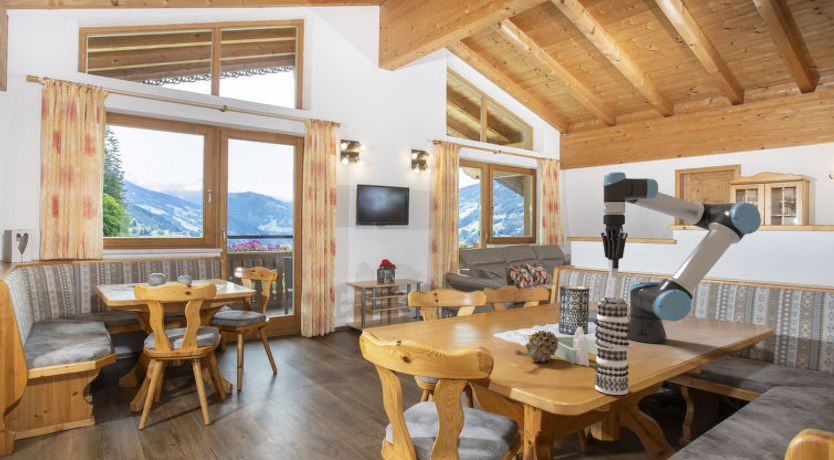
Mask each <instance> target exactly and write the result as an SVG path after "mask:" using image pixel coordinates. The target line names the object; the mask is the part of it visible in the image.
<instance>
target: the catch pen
mask: <svg viewBox="0 0 834 460" xmlns="http://www.w3.org/2000/svg"><path fill="white" fill-rule="evenodd" d="M556 338H557V339H559V341H557V342H558V343H559V344H558V345H557V346H558V347H559V348H558V349H557V350H555V351H556V353H555V355H554V356H556V357H558V358H560V359H562V360H564V361H566V362H568V363H570V364H572V365H573V364H576V362H575V357H576V350H575V349H573V339H574V335H563V336H562V335H560V336H556ZM586 340H587V344H588V349H589V353H591V354H593V355H594V356H597V347H596V343H595V342H596V339H592V338H589V337H587V336H586Z"/></svg>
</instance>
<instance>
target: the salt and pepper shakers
mask: <svg viewBox="0 0 834 460" xmlns="http://www.w3.org/2000/svg"><path fill="white" fill-rule="evenodd" d="M573 336H574V339H573V349H575V350H576V357H575V364H577V365H580V366H586V367H589V366H590V361H589V353H590V352H589V349H588V344H587V340H586V337H587V336H586V335H585V331H584V328H583V327H582V326H578V327H576V329H575V331H574V335H573Z"/></svg>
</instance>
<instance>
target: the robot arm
mask: <svg viewBox="0 0 834 460" xmlns="http://www.w3.org/2000/svg"><path fill="white" fill-rule="evenodd" d="M602 187H603V214H604V215H603V219H602V220H603V221H602V223H603V225H605V229H604V230H605V231H604V232H601V233H600V235H601V239H602V244H603V245H602V246H603V251H604V257H605V258H606V259H607V260H608V269H609V270H608V272H609V273H608V278H611V279H612V278H614V279H615V278H617V279H618V278H619V268H620V267H619V263H620V262H619V261H620V260H621V259H623V258H624V253H625V246H626V241H627V238H628V234H629V233H628V232H624V227H623V225H625V223H626V215H625V213H626V203H628V204H633V205H635V206H638V207H641V208H645V209H648V210H652V211H655V212H658V213H661V214H663V215H666V216H667V215H668V216H671V217H674V218H677V219H680V220H683V221H687V223H688V224H689V225H691V226H694V227H697V228H699V229H703V230H706V231H707V233H706V235H705V236H704V237H703V238H702V239H701V241H700V242H699V243H698V244H697V245H696V247H695V248H694V249H693V250H692V251H691V253H690V254H689V255H688V256H687V257H686V259H685V260H684V261H683V262H682V264H681V265H680V266H679V267H678V269H677V270H675V272H674V273H673V274H672V275H671V276H670V277H665V278H664V279H663V280H662V281H661V282H660V281H635V282H632V283H631V284H630V289H629V292H630V293H629V294H630V295H629V297H630V298H629V303H630V304H629V319H628V323H629V324H630V327H628V329H629V330H630V332H629V333H627V336H628V337H629V338H630V339H629V340H631V341H635V342H641V343H650V344H660V343H661V344H662V343H666V342H667V336H668V335H667V333H666V329H665V327H664V323H663V321H670V322H678V321H681V320H683V319H685V318H686V317H687V316H688V315H689V314H690V311H691V310H692V301H693V298H694V293H693V291H694V290H695V289H696V288H697V286H698V285H699V284H700V283H701V282H702V281H703V279H704V278H705V276H707V275H708V273H710V271H711V270H712V268H713V267H714V266H715V265H716V264H717V262H718V261H719V260H720V259H721V257H723V255H724V253H726V252H727V250H728V249H729V248H730V247H731V246H732V244H738V243H740V242H741V241H742V239H743V238H744V237H745V235H751V234H753V233H755V232H756V231H758V230H759V228H760V226H761V222H762V218H761V213H760V211H759V209H758V208H757V207H756V206H755V205H753V204H752V203H750V202H744V201H743V202H741V201H737V202H734V203H733V202H732V203H731V202H729V203H714V204H713V203H704V202H700V201H696V202H692V201H688V200H685V199H683V198H680V197H676V196H672V195H670V194H666V193H664V192H659V184H658V182H657V180H656V179H655V178H654V179H653V178H647V177H646V178H628V177H627V176H626V173H625V172H621V171H619V172H618V171H617V172H607V173H605V174H604V176H603V185H602Z"/></svg>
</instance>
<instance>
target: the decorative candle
mask: <svg viewBox="0 0 834 460" xmlns="http://www.w3.org/2000/svg"><path fill="white" fill-rule="evenodd" d="M596 304H597V314H596V319H595V320H594V322H593V323H594V324H595V328H594V331H595V333H594V336H595V338H596V339H595V341H596V342H595V343H596V347H597V355H596V360H595V361H596V362H595V366H596V367H595V369H594V370H595V372H596V373H595V375H594V379H595V381H594V384H595V386H594V388H595V390H596V391H598V392H601V393H602V394H606V395H615V396H623V395H627V394H628V393H629V390H628V388H629V384H628V383H629V377H628V376H629V371H628V370H629V365H628V358H627V356H628V353H627V352H628V350H629V349H630V348H629V346H630V342H628V341H629V340H630V338H629V337H628V336H627V333H629V332H630V330H629V329H628V327H630V324H629V316H628V307H629V304H627V303H626V301H625V300H624V299H623V298H621V297H620V298H619V297H603V298H601V299H600V300H599V301H598V302H596Z"/></svg>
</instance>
